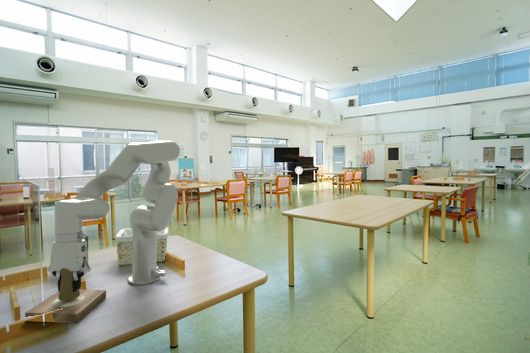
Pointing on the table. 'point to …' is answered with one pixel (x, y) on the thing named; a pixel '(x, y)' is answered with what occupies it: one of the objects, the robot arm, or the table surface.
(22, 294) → the table surface
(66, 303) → the base
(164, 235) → the storage basket
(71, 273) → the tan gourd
